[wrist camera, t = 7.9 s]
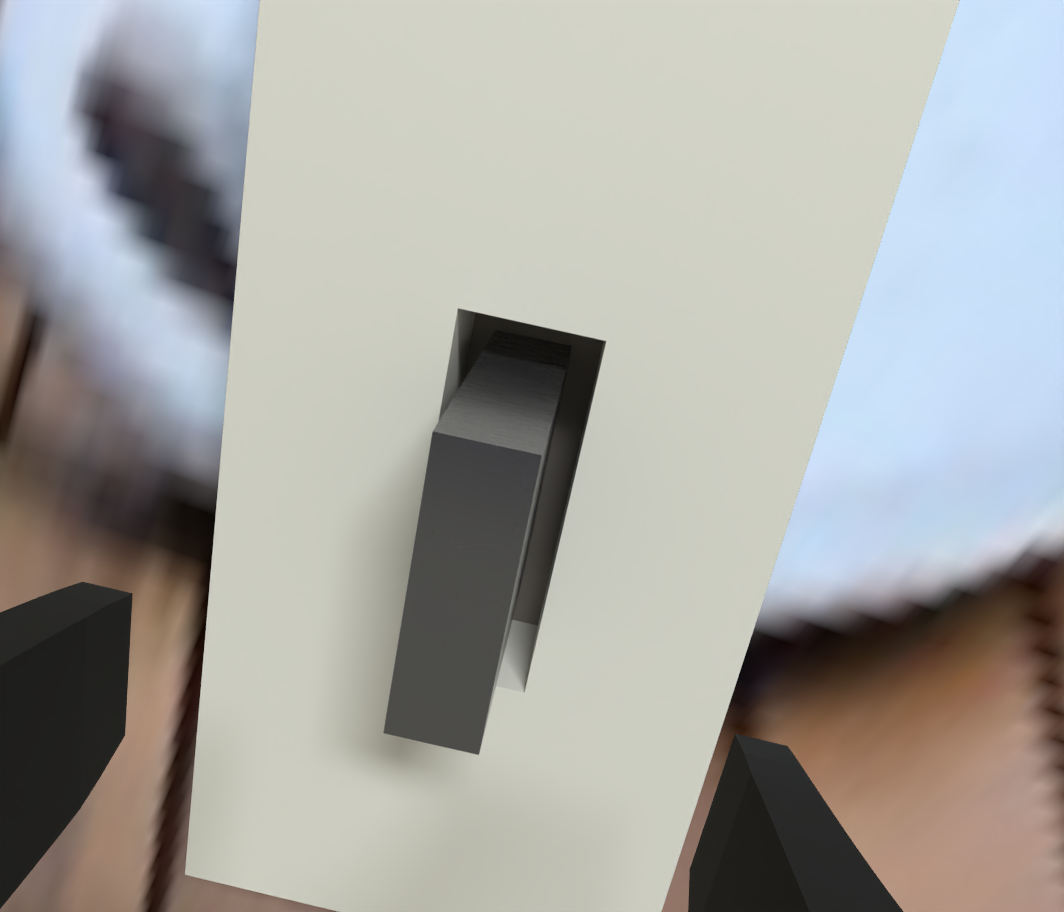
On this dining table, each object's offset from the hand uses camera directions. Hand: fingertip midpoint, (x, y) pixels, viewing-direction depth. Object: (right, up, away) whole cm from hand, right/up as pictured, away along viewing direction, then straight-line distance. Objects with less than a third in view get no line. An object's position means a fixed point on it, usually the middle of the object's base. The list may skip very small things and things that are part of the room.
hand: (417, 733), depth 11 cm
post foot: (+1, +3, +9) cm, 9 cm away
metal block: (+1, +3, +8) cm, 9 cm away
